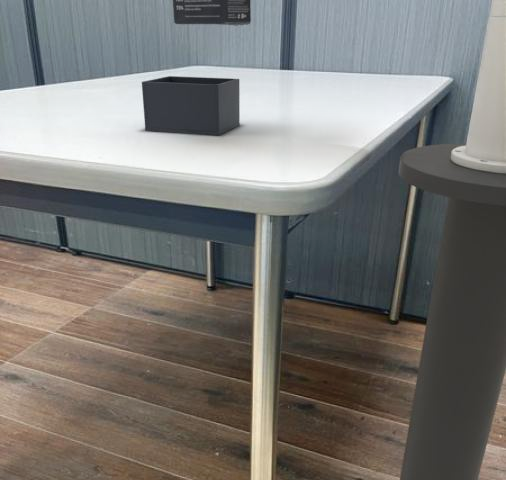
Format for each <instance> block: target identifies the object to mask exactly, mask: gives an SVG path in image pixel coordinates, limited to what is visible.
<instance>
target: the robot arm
mask: <svg viewBox="0 0 506 480" xmlns="http://www.w3.org/2000/svg"><path fill="white" fill-rule="evenodd" d="M485 31H486V32H485V37H484V42H483V47H482V54H481V58H480V59H481V60H480V64H479V70H478V77H477V82H476V87H475V93H474V99H473V104H472V109H471V116H470V120H469V127H468V132H467V136H466V137H467V139H466V142H465V143H466V146H460V147H457V148H455V149H453V150H452V152H451V160H452V162H454V163H455V164H457V165H460V166H462V167H466V168H469V169H473V170H478V171H484V172H490V173H498V174H506V0H491V4H490V10H489V15H488V19H487V27H486V30H485Z"/></svg>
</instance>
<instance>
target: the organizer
mask: <svg viewBox="0 0 506 480" xmlns="http://www.w3.org/2000/svg"><path fill="white" fill-rule="evenodd" d="M141 88H142V89H141V90H142V104H143V116H144V130H145V131H146V132H160V133H176V134H191V135H207V136H221V135H222V134H225V133H227V132H229V131H231V130H232V129H235V128H237V127H238V126H240V123H241V122H240V117H241V116H240V78H227V77H225V78H224V77H204V76H203V77H201V76H175V75H167V76H163V77H159V78H153V79H149V80H143V81H141Z"/></svg>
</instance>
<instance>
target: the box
mask: <svg viewBox="0 0 506 480" xmlns="http://www.w3.org/2000/svg"><path fill="white" fill-rule="evenodd" d="M172 8H173V21H174V24H176V25H220V26H222V25H228V26H244V25H250V24H251V20H252V18H251V17H252V16H251V14H252V13H251V12H252V11H251V0H172Z"/></svg>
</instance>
